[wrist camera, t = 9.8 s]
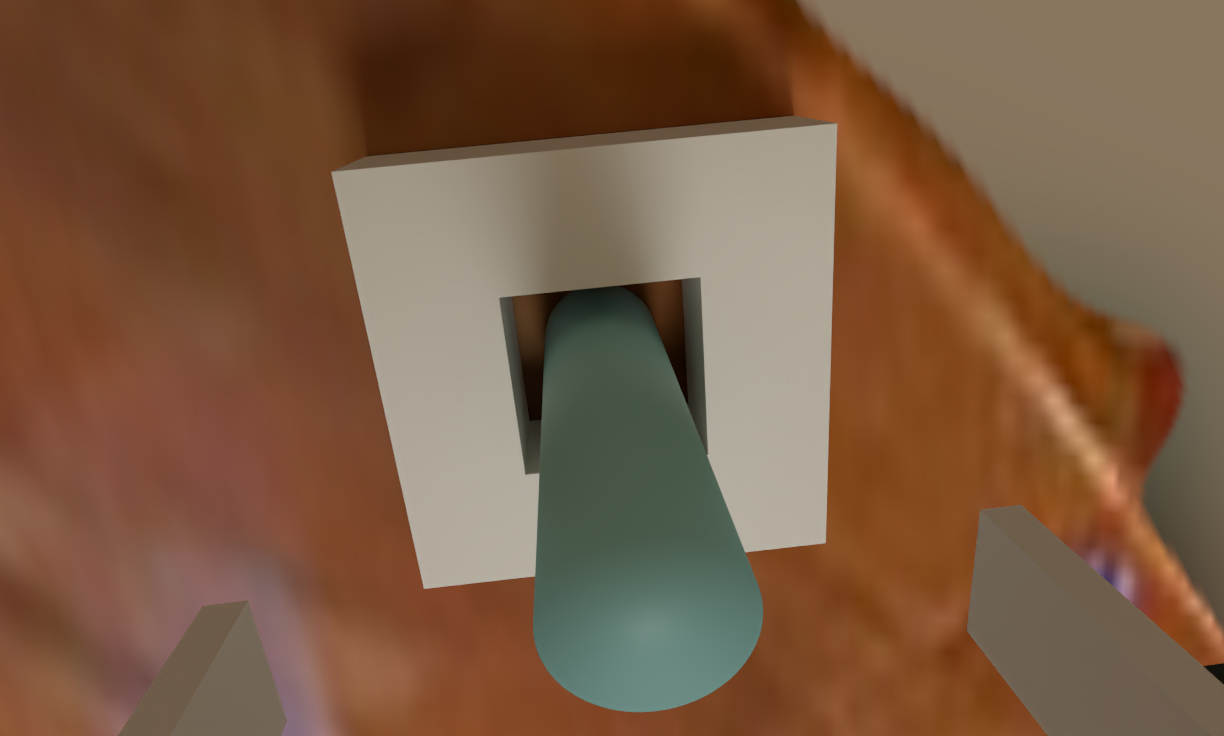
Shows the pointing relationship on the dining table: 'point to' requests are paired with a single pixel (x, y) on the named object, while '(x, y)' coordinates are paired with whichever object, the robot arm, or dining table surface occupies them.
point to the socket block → (591, 258)
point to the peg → (631, 521)
